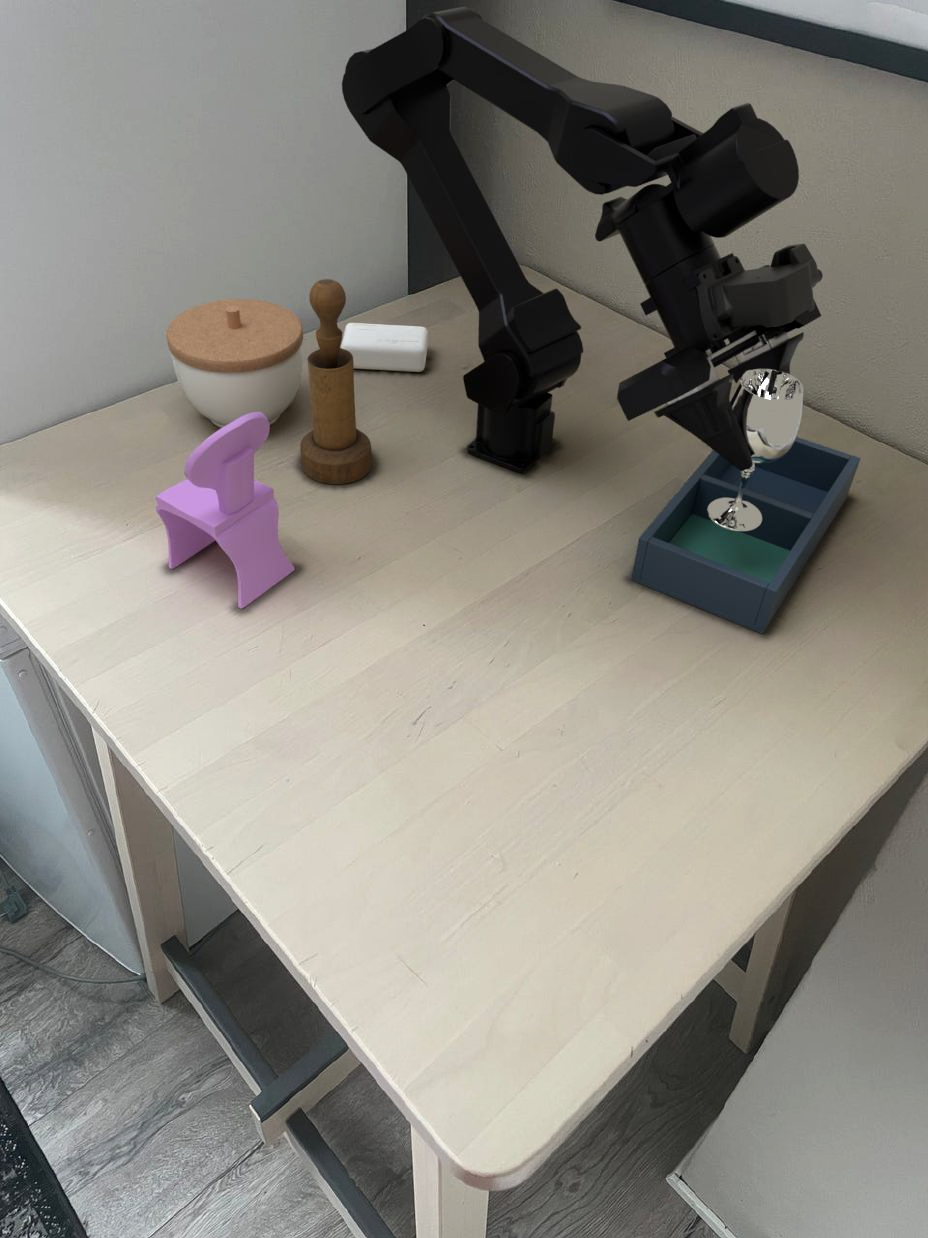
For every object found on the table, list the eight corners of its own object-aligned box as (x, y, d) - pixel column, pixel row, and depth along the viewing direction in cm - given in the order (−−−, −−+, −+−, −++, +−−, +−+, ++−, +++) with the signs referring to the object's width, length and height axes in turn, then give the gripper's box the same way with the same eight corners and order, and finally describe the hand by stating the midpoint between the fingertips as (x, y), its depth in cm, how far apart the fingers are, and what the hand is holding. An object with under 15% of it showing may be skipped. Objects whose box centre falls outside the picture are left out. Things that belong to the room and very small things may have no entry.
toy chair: (228, 523, 89) (205, 368, 79) (303, 563, 86) (290, 406, 76) (155, 571, 84) (120, 412, 74) (232, 616, 81) (207, 455, 71)
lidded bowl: (196, 457, 97) (178, 350, 89) (168, 392, 105) (150, 289, 97) (325, 432, 101) (318, 328, 93) (288, 371, 109) (279, 271, 101)
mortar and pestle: (288, 473, 95) (271, 289, 83) (321, 439, 100) (309, 258, 87) (352, 491, 94) (344, 305, 81) (383, 455, 98) (380, 274, 86)
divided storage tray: (630, 580, 86) (638, 537, 83) (729, 457, 100) (739, 417, 97) (762, 634, 82) (776, 591, 79) (846, 498, 96) (860, 457, 93)
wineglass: (761, 544, 81) (802, 412, 73) (690, 523, 82) (723, 391, 74) (777, 505, 85) (818, 376, 77) (709, 486, 86) (742, 357, 78)
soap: (428, 349, 114) (428, 324, 112) (424, 374, 110) (425, 348, 108) (346, 345, 114) (345, 319, 112) (340, 369, 110) (339, 344, 108)
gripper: (681, 249, 65) (786, 471, 67) (834, 182, 75) (921, 376, 77) (572, 320, 74) (667, 513, 76) (721, 251, 84) (801, 423, 86)
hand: (768, 454), depth 78 cm, fingers closed on wineglass, 5 cm apart
